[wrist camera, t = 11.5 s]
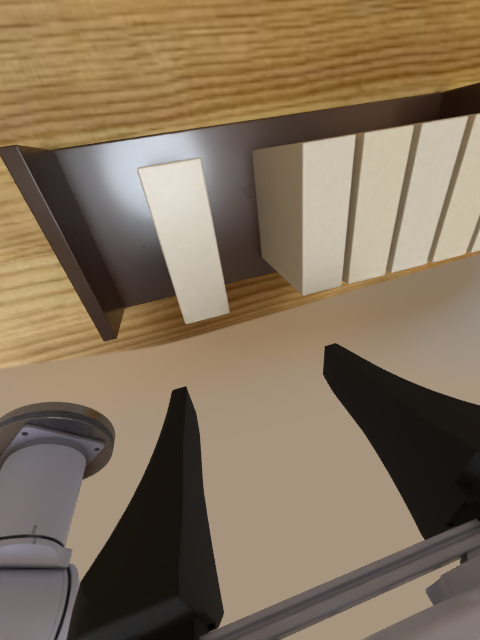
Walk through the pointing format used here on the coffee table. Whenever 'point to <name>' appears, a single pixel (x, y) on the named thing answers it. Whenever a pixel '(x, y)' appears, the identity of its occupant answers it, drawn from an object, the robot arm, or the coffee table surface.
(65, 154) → the book rack
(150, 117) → the coffee table surface
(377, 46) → the coffee table surface
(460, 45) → the coffee table surface
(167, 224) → the cream book
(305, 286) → the cream books
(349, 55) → the coffee table surface
